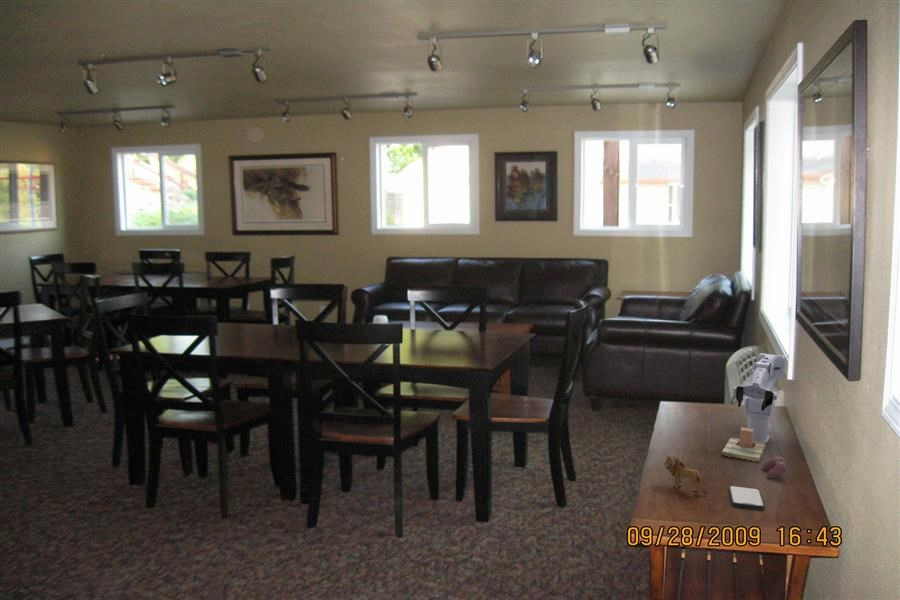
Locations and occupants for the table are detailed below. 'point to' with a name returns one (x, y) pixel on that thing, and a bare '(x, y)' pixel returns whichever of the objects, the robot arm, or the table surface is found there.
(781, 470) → the video game controller
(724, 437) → the table surface
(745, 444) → the terracotta block
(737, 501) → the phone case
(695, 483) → the lion figurine
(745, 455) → the board
